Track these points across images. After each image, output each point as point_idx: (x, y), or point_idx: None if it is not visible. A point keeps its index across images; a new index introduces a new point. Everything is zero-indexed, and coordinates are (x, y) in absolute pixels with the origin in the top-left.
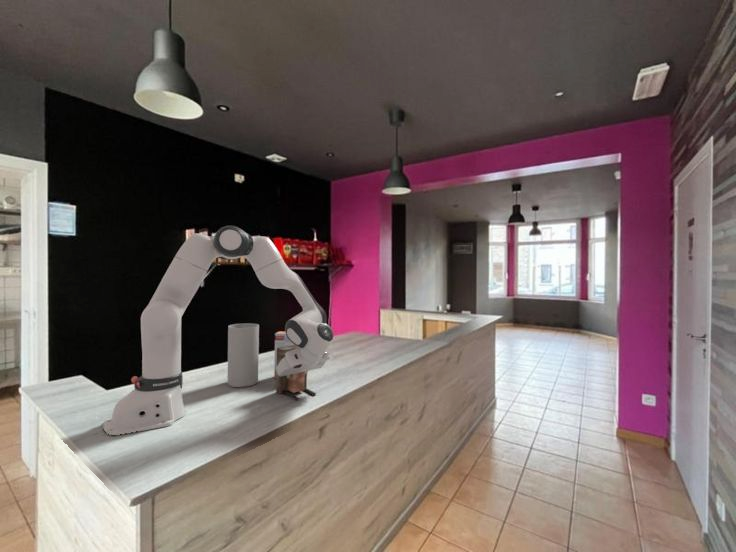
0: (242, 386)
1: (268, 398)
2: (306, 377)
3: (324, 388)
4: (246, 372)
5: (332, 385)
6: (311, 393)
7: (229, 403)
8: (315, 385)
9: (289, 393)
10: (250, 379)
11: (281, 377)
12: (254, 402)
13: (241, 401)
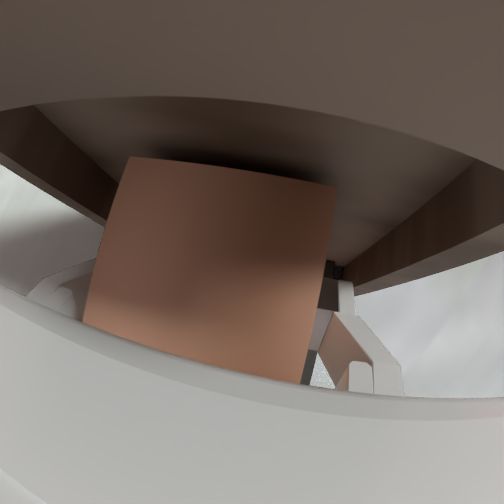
0: None
1: (83, 249)
2: (380, 289)
3: (422, 390)
4: None
5: (480, 378)
6: None
7: (3, 177)
8: (428, 301)
9: None
10: None
11: (101, 223)
12: (30, 240)
13: (23, 189)
